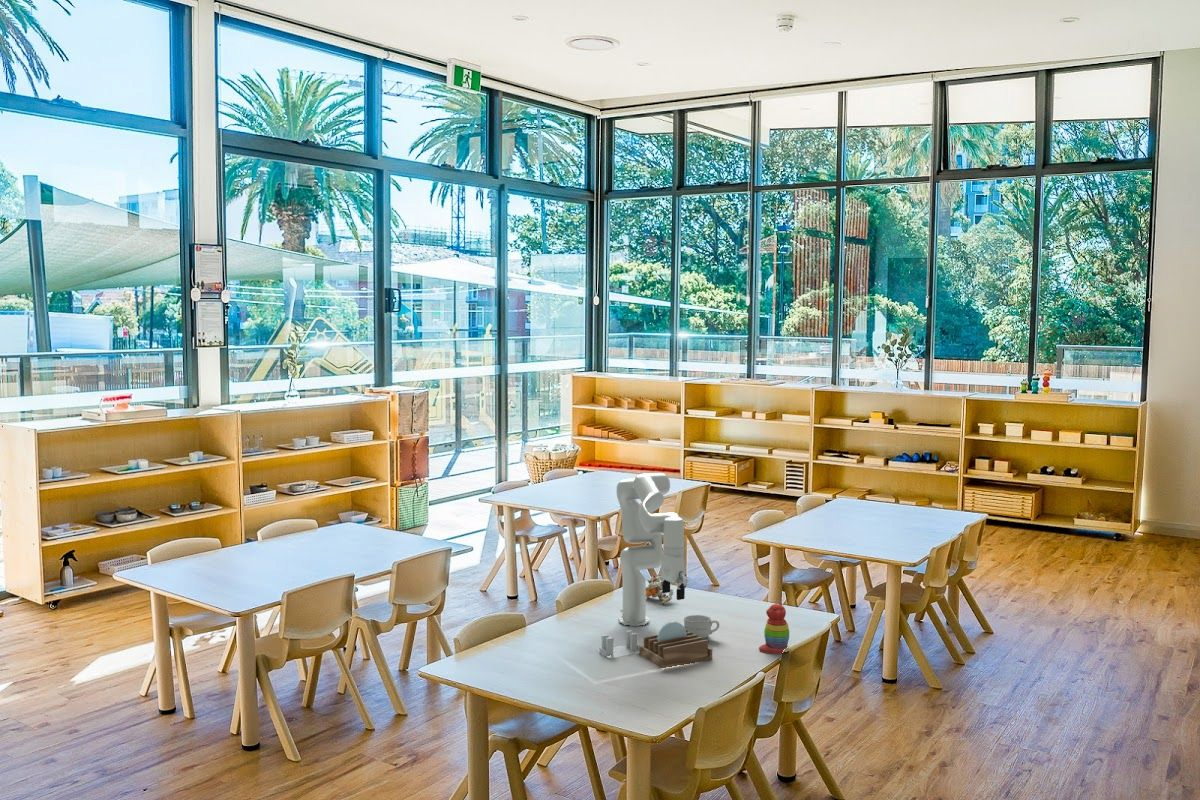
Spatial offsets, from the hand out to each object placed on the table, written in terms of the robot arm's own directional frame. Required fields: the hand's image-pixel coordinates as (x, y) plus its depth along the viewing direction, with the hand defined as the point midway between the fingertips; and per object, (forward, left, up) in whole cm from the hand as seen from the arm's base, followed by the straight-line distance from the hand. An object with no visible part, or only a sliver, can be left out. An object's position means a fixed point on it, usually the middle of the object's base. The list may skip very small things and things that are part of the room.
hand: (673, 595), depth 378 cm
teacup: (-12, +21, -23) cm, 34 cm away
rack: (+2, 0, -23) cm, 23 cm away
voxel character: (-62, +31, -23) cm, 73 cm away
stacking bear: (+13, +38, -23) cm, 46 cm away
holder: (-12, -16, -23) cm, 31 cm away
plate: (0, -3, -21) cm, 22 cm away
